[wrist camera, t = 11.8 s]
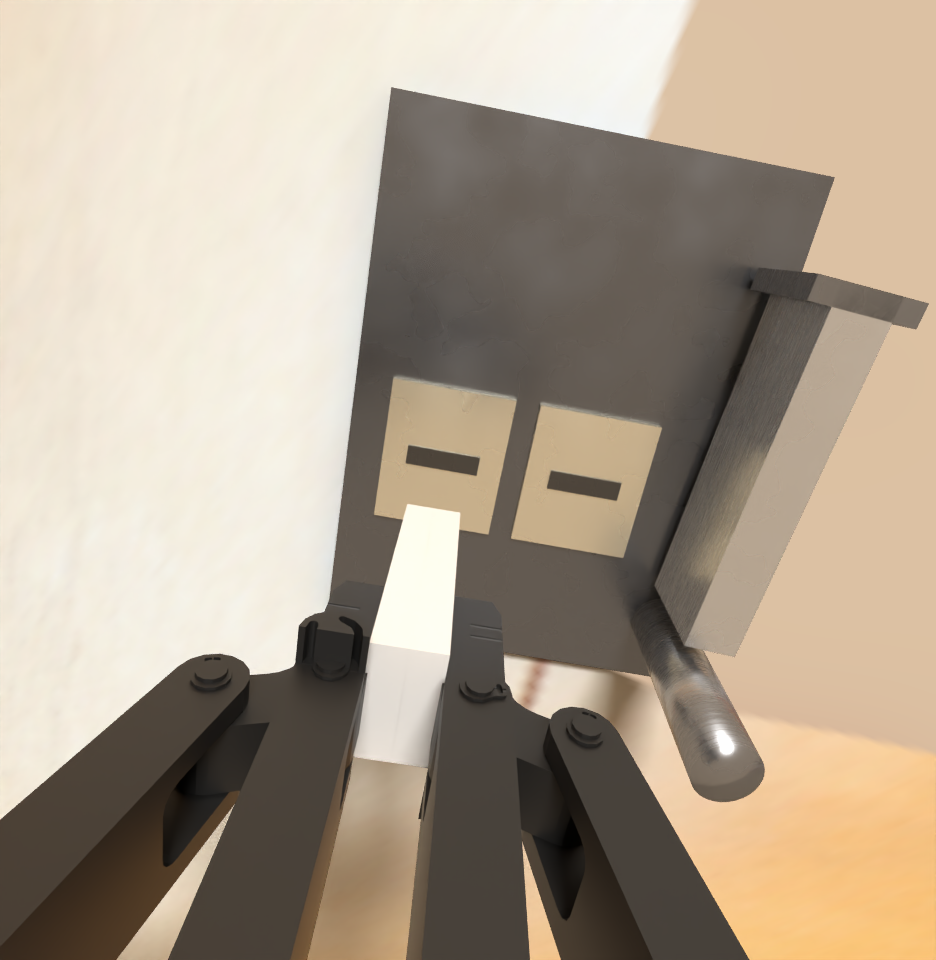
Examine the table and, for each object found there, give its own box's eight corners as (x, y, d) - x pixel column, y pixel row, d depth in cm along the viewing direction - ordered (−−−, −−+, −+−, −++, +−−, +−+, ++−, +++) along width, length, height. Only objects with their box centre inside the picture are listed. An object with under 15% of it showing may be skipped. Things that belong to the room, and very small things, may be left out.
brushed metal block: (714, 599, 29) (754, 661, 24) (637, 581, 28) (664, 641, 24) (850, 292, 24) (929, 303, 20) (758, 267, 24) (818, 273, 19)
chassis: (331, 610, 31) (265, 772, 22) (395, 93, 23) (335, -5, 14) (659, 665, 32) (733, 845, 22) (825, 180, 24) (1045, 144, 15)
